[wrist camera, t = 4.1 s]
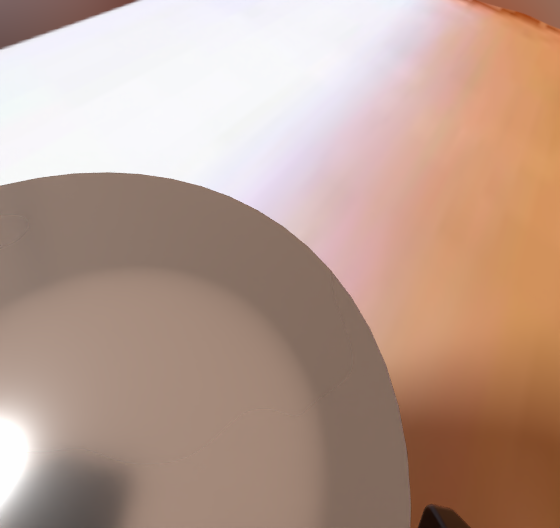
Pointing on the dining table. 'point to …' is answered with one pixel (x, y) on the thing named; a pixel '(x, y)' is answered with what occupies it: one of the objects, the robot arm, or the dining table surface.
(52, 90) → the dining table surface
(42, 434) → the brown metal-capped cylinder
